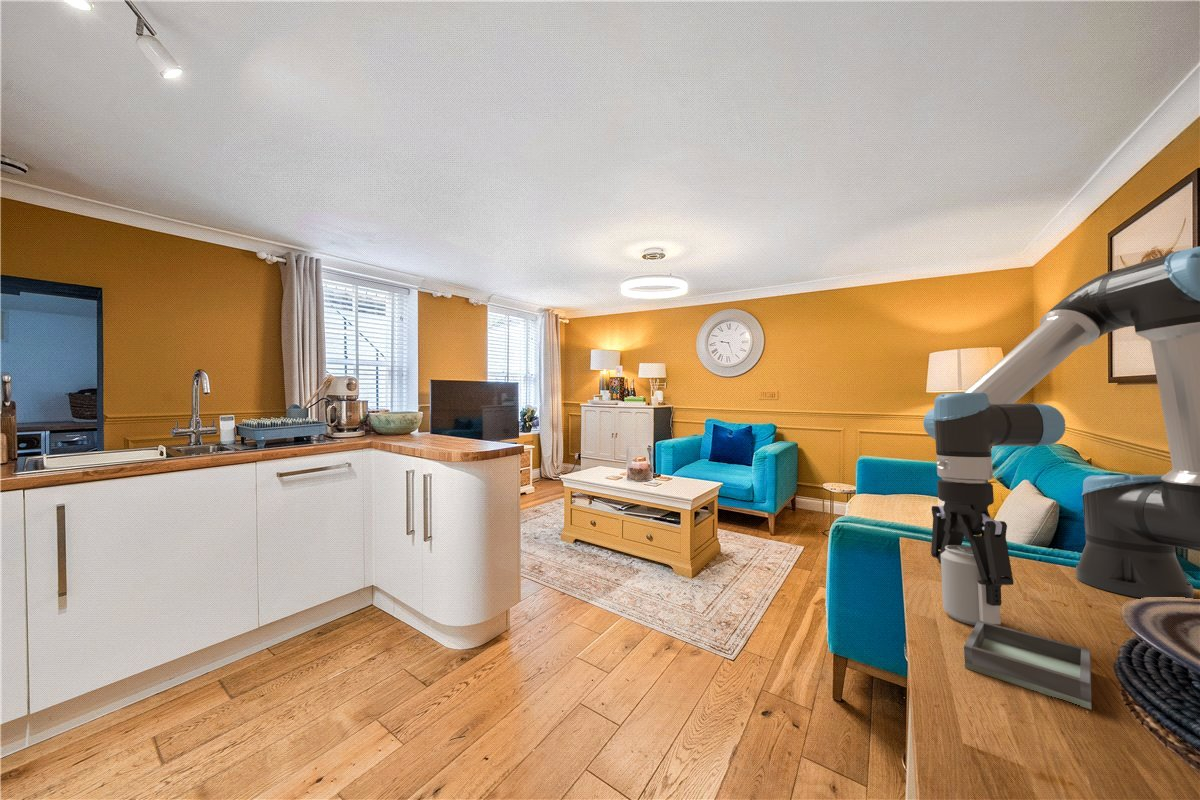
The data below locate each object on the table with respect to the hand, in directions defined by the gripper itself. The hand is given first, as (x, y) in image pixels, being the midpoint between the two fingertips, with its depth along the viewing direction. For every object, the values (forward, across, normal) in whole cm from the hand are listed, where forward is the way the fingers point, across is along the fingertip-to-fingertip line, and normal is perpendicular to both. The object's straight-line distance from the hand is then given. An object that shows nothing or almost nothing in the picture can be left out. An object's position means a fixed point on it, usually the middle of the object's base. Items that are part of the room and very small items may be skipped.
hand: (970, 611), depth 74 cm
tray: (+1, +16, -4) cm, 16 cm away
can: (+1, 0, 0) cm, 1 cm away
